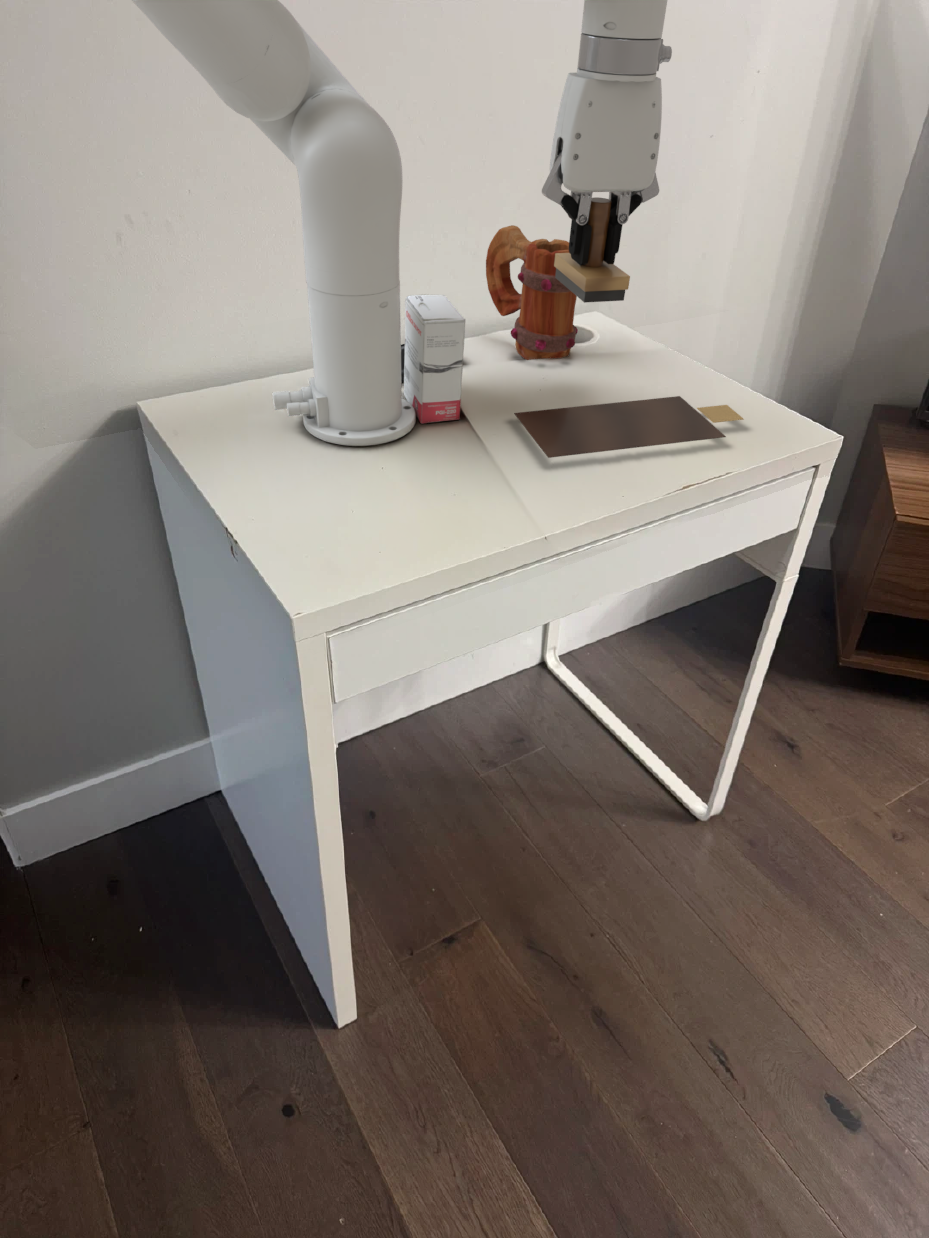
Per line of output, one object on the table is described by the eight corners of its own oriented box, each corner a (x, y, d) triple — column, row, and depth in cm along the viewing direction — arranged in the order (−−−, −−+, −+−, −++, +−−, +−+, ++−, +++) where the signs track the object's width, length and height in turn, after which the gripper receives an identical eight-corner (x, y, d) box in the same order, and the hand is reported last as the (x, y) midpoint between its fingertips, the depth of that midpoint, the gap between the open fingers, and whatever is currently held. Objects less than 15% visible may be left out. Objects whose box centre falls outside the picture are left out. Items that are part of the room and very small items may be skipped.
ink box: (463, 421, 101) (466, 317, 93) (420, 425, 99) (420, 320, 92) (442, 390, 107) (444, 291, 100) (402, 394, 106) (401, 294, 98)
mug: (590, 359, 116) (604, 239, 107) (551, 376, 111) (562, 252, 102) (507, 329, 124) (513, 216, 115) (467, 344, 119) (471, 226, 110)
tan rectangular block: (711, 432, 100) (713, 422, 99) (694, 417, 103) (696, 407, 102) (742, 428, 101) (744, 419, 100) (724, 414, 104) (726, 404, 103)
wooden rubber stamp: (582, 303, 92) (594, 211, 87) (552, 277, 99) (561, 190, 93) (626, 301, 93) (640, 210, 88) (593, 275, 100) (604, 189, 95)
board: (547, 467, 92) (548, 457, 92) (513, 422, 101) (513, 412, 100) (724, 446, 97) (726, 436, 97) (678, 405, 106) (679, 395, 105)
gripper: (676, 56, 88) (645, 249, 99) (524, 52, 84) (510, 253, 95) (713, 66, 82) (675, 269, 93) (552, 62, 78) (533, 275, 90)
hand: (592, 259), depth 94 cm, fingers closed on wooden rubber stamp, 2 cm apart
